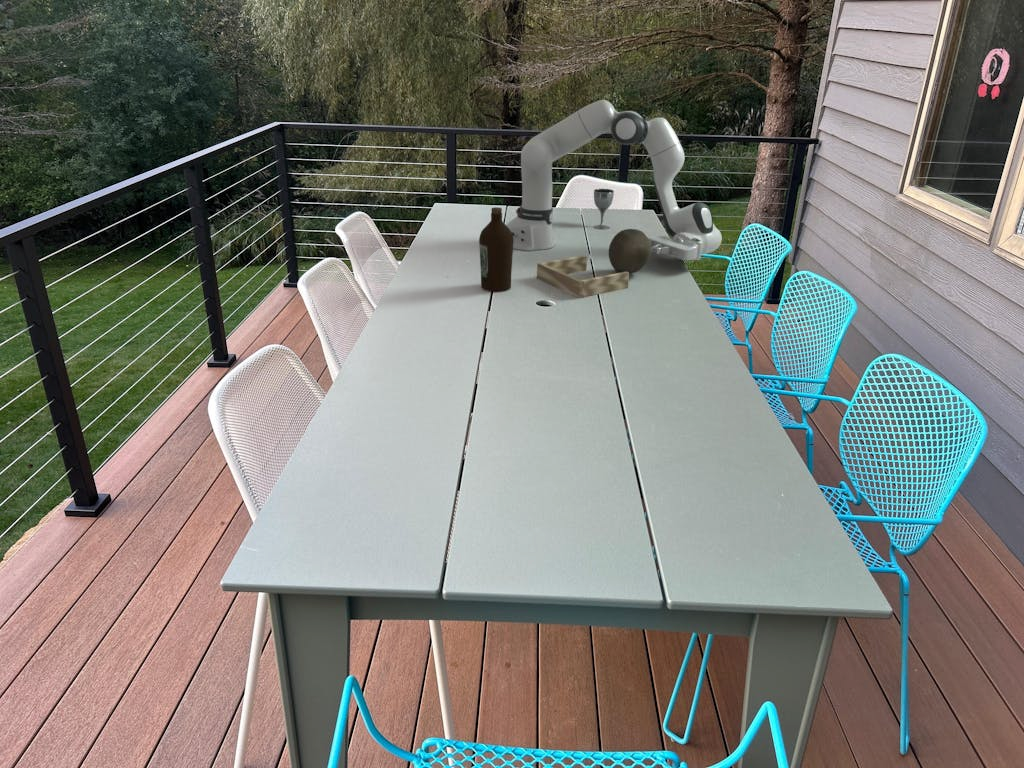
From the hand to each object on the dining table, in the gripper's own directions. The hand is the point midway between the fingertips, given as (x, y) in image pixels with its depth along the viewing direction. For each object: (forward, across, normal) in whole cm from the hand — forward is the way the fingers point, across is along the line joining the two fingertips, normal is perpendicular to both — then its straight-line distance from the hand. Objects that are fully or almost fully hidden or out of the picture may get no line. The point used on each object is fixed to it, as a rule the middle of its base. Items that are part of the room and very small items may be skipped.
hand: (654, 250), depth 261 cm
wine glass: (-22, -55, +7) cm, 60 cm away
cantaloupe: (+11, 0, +7) cm, 13 cm away
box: (+30, 0, +7) cm, 31 cm away
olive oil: (+57, -10, +7) cm, 59 cm away
